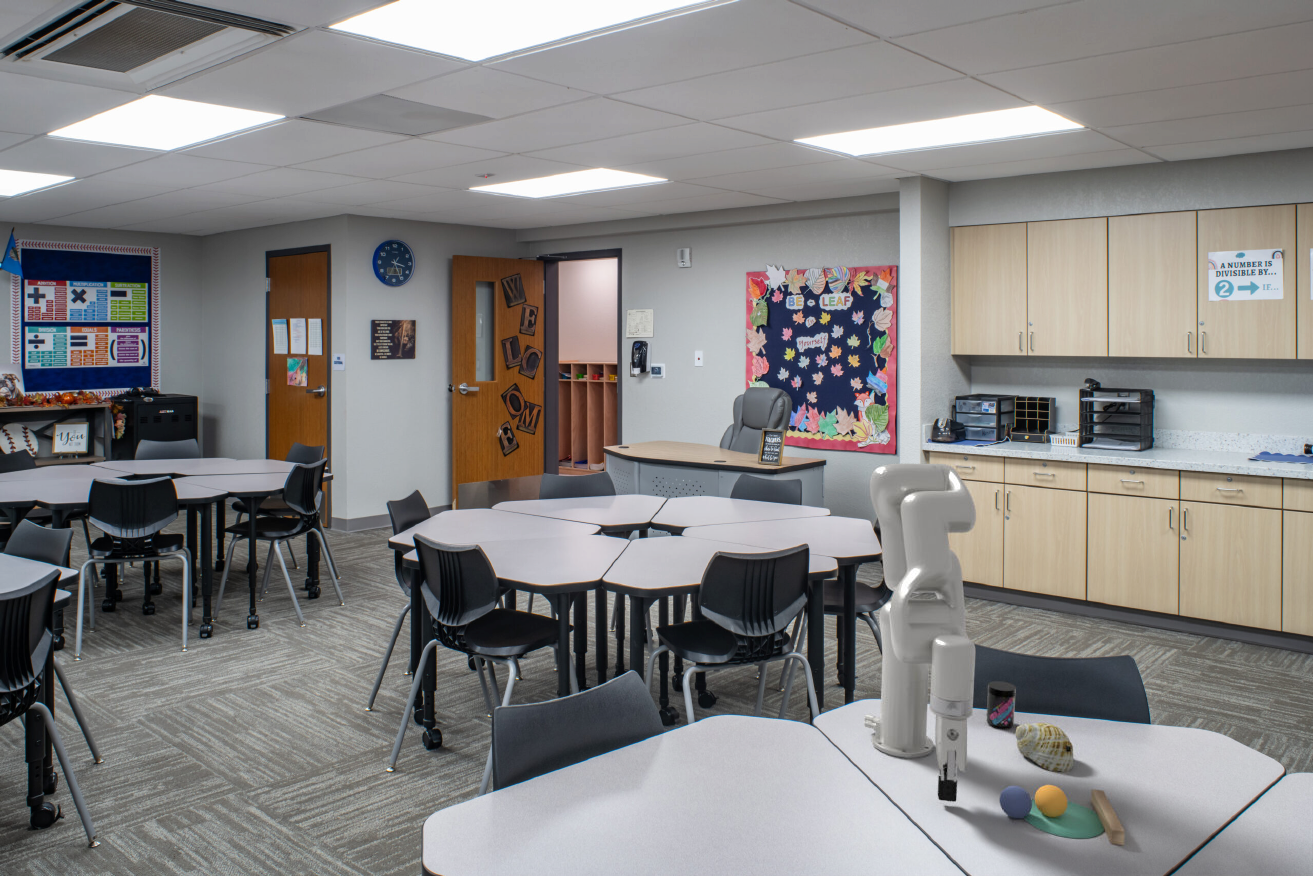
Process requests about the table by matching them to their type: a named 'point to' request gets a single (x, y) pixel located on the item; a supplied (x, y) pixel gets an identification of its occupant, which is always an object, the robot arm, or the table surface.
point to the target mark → (1067, 821)
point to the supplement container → (1001, 704)
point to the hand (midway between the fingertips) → (946, 798)
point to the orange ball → (1051, 801)
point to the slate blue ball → (1015, 802)
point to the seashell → (1045, 746)
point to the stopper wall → (1108, 817)
